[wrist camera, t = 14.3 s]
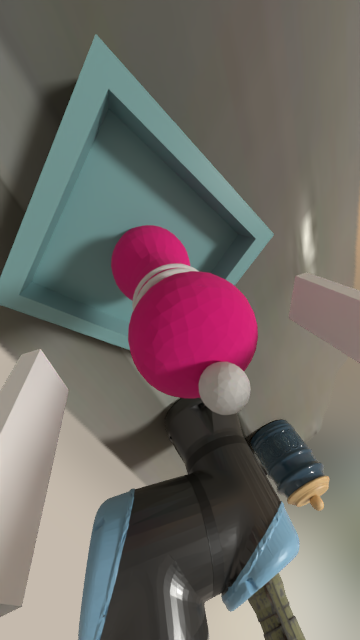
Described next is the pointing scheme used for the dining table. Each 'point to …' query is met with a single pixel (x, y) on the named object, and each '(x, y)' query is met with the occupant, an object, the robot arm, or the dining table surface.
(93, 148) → the tray
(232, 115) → the dining table surface
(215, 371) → the pepper mill
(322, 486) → the canister
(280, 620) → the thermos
